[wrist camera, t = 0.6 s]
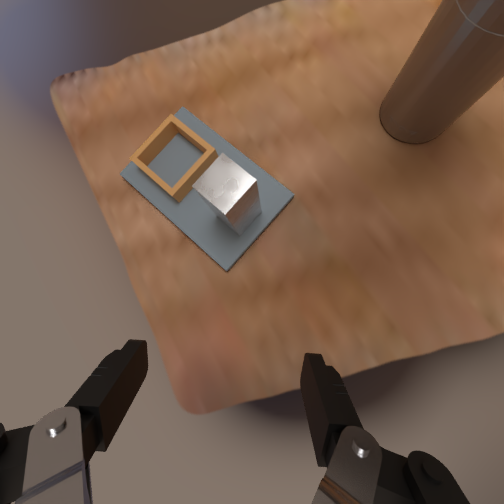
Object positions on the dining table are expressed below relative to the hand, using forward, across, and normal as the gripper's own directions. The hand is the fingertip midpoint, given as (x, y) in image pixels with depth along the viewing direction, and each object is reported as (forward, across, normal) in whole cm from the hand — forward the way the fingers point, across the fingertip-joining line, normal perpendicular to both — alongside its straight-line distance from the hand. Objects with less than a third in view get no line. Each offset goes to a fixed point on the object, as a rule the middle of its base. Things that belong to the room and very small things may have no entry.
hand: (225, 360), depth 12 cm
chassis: (+26, +6, -7) cm, 28 cm away
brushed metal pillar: (+23, +1, -4) cm, 23 cm away
